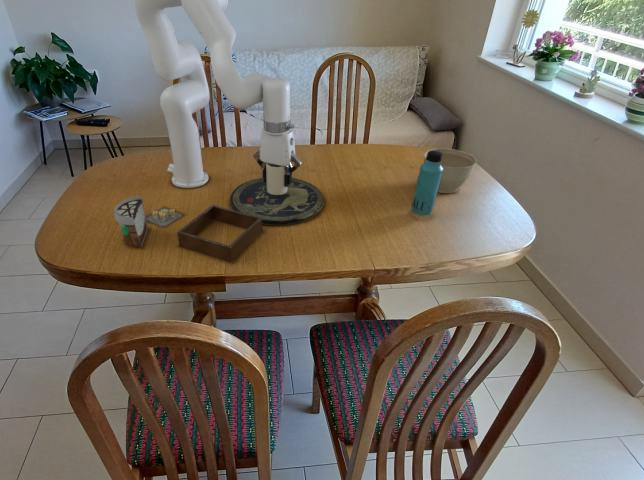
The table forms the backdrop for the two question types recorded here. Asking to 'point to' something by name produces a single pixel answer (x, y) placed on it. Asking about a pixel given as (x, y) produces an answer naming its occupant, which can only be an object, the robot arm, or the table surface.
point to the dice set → (163, 217)
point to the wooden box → (215, 248)
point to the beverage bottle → (427, 184)
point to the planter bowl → (454, 169)
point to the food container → (132, 220)
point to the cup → (275, 179)
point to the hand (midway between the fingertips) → (277, 182)
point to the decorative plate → (278, 202)
